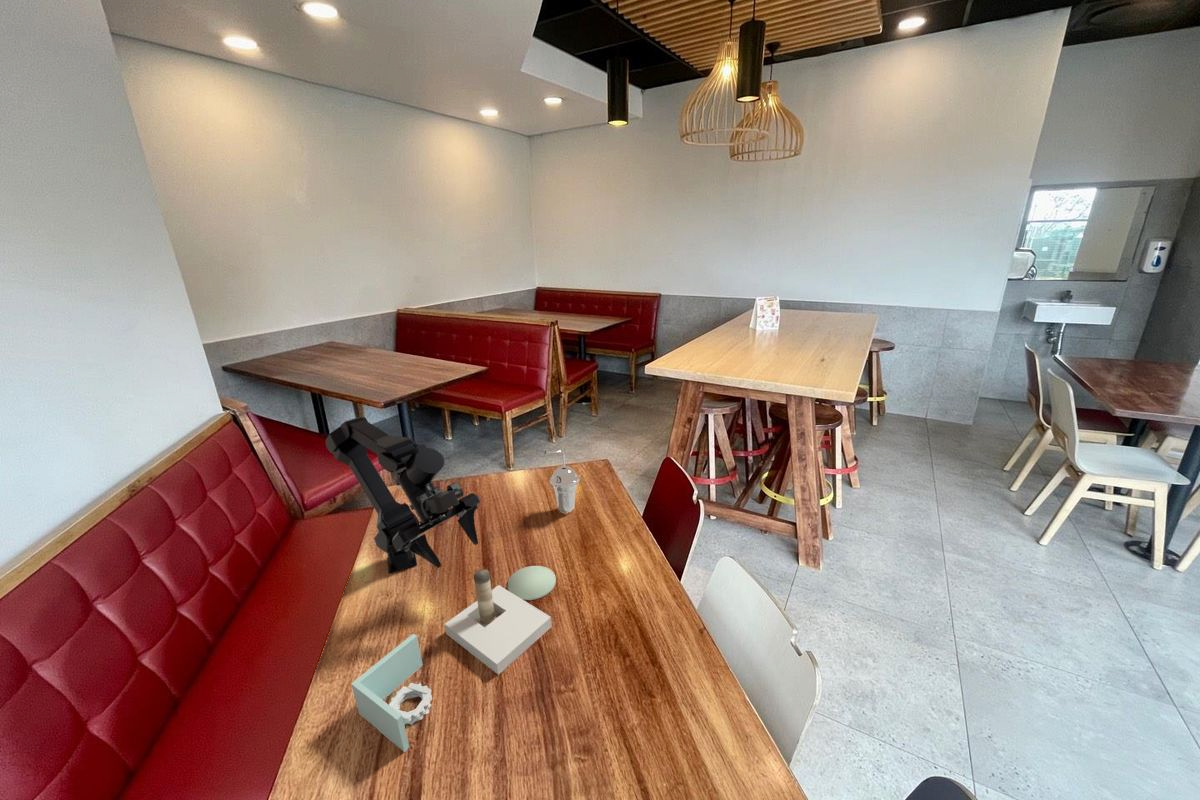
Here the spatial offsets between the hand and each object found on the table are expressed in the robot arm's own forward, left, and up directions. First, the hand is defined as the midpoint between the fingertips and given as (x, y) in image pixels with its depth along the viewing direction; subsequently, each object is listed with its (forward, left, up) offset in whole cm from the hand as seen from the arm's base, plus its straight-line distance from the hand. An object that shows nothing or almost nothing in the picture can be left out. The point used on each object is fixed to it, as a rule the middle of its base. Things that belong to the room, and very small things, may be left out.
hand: (459, 555), depth 98 cm
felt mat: (0, +15, -13) cm, 20 cm away
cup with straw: (-25, +34, -13) cm, 44 cm away
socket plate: (+10, +4, -13) cm, 17 cm away
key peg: (+7, +3, -13) cm, 15 cm away
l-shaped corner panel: (+19, -13, -14) cm, 27 cm away
